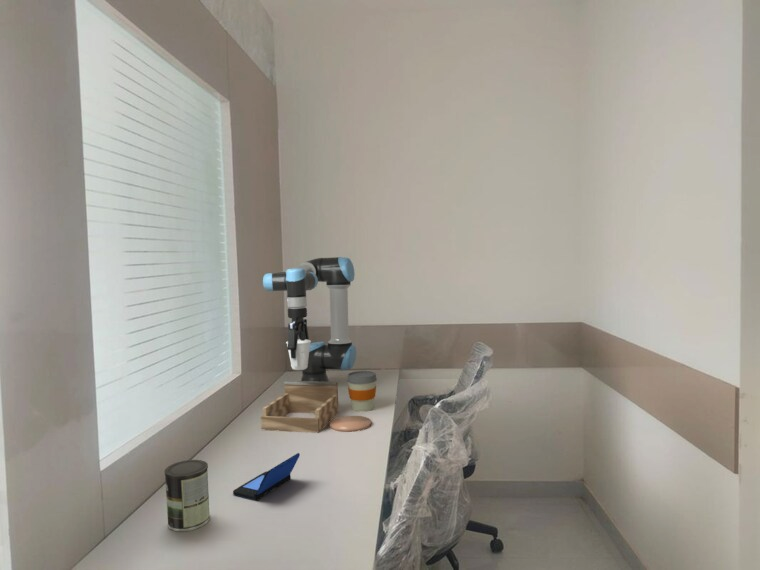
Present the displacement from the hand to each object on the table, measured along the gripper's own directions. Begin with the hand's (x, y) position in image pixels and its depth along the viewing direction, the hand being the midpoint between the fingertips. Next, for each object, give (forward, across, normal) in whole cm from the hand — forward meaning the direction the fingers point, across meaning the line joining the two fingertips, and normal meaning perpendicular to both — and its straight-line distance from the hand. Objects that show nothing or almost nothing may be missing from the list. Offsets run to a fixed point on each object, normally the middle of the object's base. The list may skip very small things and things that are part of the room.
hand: (299, 363), depth 216 cm
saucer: (+23, +2, +21) cm, 31 cm away
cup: (+2, 0, 0) cm, 2 cm away
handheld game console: (+24, +61, +13) cm, 66 cm away
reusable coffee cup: (+24, -20, +20) cm, 37 cm away
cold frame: (+23, 0, 0) cm, 23 cm away
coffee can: (+23, +82, +2) cm, 85 cm away
